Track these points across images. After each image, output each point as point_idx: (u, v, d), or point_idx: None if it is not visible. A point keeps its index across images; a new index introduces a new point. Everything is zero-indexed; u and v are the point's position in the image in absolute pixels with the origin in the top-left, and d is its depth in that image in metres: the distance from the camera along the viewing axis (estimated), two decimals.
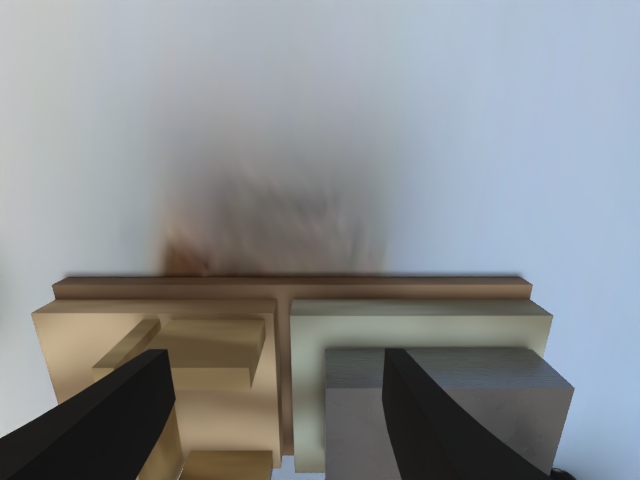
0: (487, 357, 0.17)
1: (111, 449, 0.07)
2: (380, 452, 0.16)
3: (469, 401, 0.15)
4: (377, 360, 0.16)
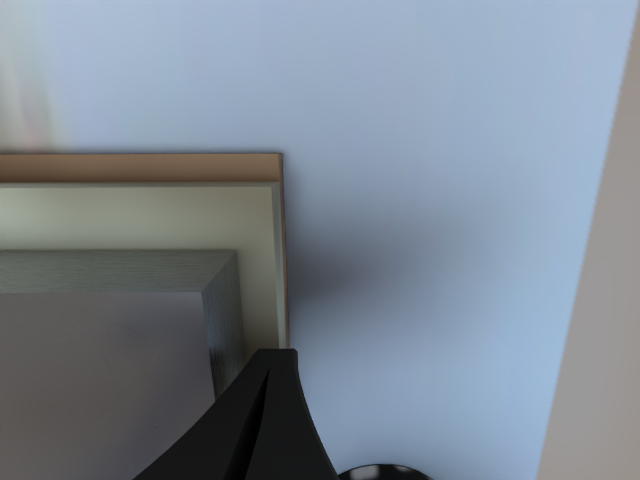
0: (131, 258, 0.09)
1: None
2: None
3: None
4: None
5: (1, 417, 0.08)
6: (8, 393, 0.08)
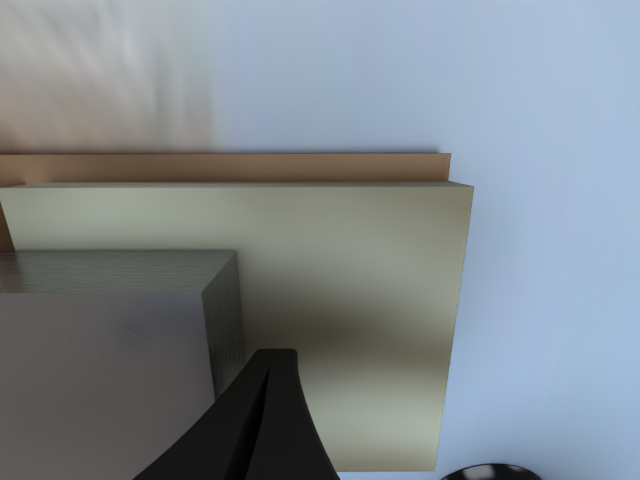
0: (131, 258, 0.09)
1: None
2: None
3: None
4: None
5: (1, 417, 0.08)
6: (8, 393, 0.08)
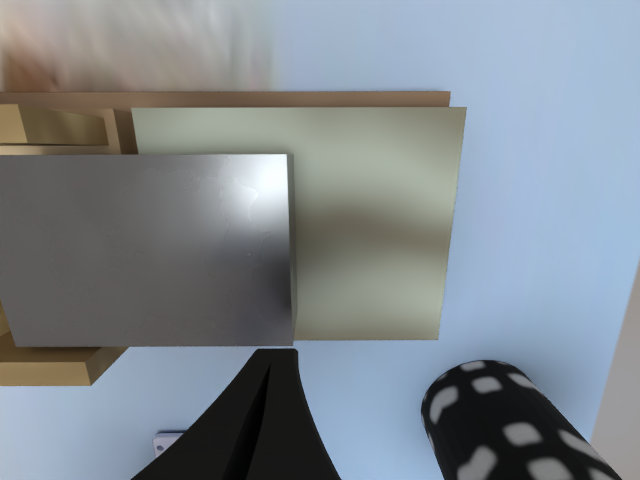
0: None
1: None
2: (60, 261, 0.12)
3: (151, 177, 0.11)
4: None
5: (147, 248, 0.12)
6: (154, 229, 0.12)
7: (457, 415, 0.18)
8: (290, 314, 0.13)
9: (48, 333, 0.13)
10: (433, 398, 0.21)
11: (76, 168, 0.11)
